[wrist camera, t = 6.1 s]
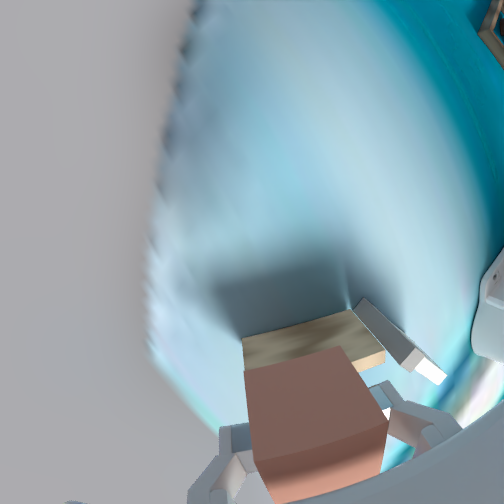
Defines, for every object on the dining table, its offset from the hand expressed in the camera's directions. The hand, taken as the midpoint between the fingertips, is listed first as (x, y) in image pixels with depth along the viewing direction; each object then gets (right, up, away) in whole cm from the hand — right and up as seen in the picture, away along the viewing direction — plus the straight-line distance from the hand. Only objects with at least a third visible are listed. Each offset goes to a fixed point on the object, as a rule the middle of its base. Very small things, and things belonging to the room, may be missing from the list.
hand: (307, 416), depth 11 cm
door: (+2, 0, +14) cm, 14 cm away
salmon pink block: (0, 0, +2) cm, 2 cm away
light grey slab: (+10, 0, +15) cm, 18 cm away
